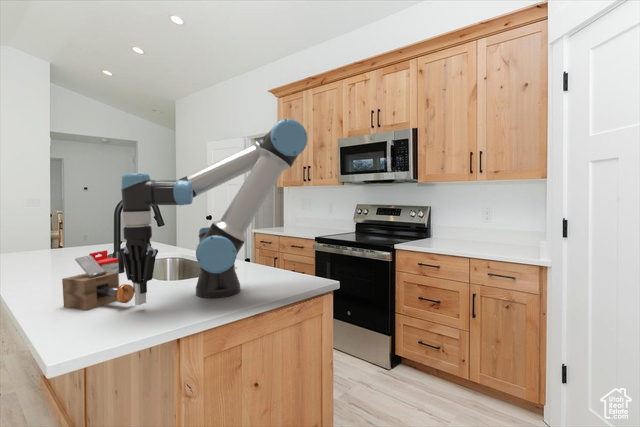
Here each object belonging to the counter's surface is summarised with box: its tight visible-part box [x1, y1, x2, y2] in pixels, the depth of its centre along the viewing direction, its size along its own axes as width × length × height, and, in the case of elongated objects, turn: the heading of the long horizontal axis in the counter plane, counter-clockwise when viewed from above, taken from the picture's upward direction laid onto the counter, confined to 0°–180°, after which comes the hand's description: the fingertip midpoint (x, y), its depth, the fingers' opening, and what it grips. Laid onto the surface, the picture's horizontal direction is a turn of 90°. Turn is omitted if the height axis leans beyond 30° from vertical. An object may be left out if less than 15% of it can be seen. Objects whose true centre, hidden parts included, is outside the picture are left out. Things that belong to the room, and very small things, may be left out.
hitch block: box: [61, 272, 120, 311], centre depth 116 cm, size 10×11×9 cm
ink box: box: [88, 250, 120, 286], centre depth 129 cm, size 8×5×15 cm, turn 168°
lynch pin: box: [96, 283, 135, 304], centre depth 113 cm, size 11×6×6 cm, turn 69°
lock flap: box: [74, 255, 107, 278], centre depth 116 cm, size 8×6×1 cm
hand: (140, 303), depth 109 cm, fingers closed
